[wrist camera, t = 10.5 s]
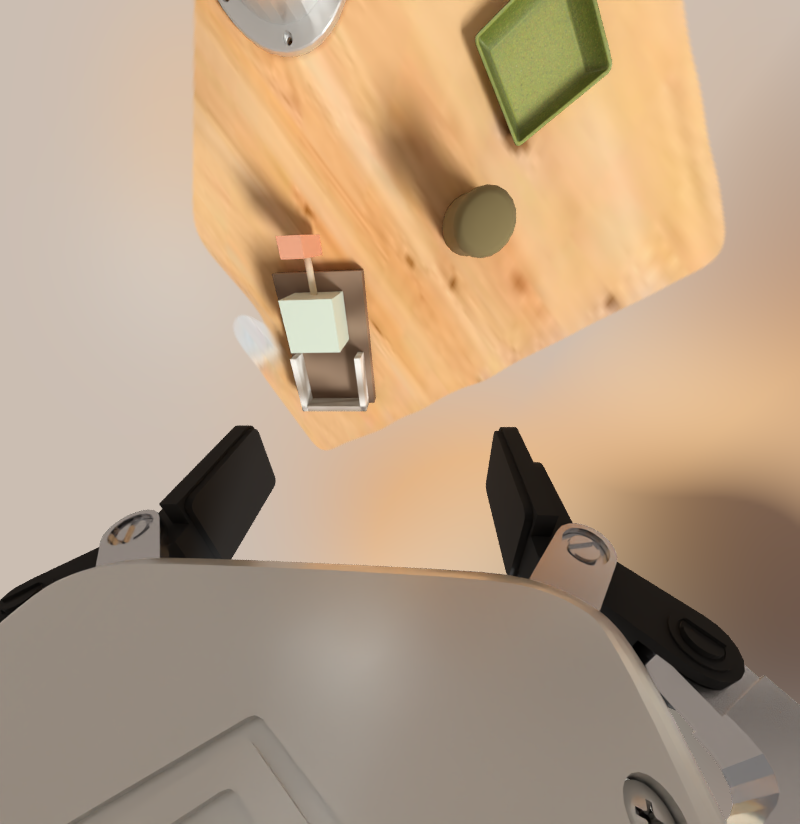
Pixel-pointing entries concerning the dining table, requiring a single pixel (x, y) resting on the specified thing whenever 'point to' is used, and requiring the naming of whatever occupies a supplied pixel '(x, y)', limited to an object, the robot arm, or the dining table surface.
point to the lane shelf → (339, 371)
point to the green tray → (542, 59)
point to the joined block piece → (311, 304)
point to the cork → (479, 222)
